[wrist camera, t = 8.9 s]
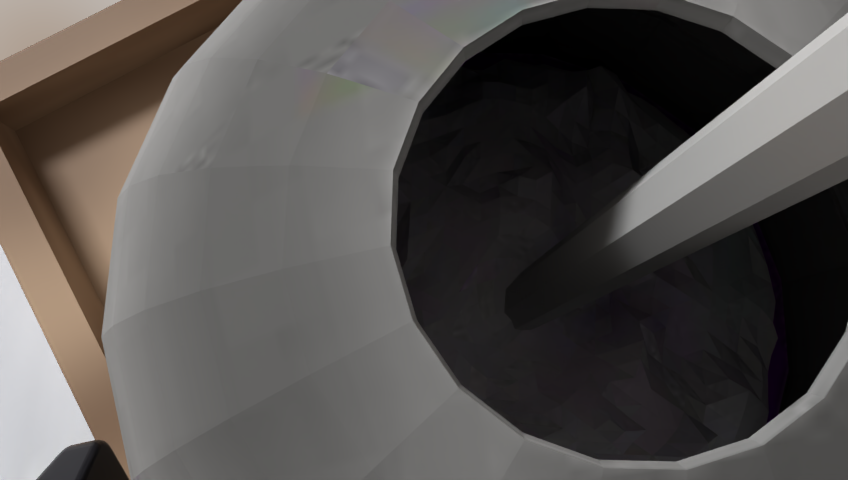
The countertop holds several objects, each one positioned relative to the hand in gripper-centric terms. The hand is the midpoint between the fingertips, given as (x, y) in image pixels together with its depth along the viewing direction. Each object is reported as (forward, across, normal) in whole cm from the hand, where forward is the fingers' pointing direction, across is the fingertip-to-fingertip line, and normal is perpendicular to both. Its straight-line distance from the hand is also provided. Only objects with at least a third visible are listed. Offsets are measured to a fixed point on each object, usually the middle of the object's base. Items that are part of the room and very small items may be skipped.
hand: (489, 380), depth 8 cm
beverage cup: (+8, 0, +7) cm, 10 cm away
